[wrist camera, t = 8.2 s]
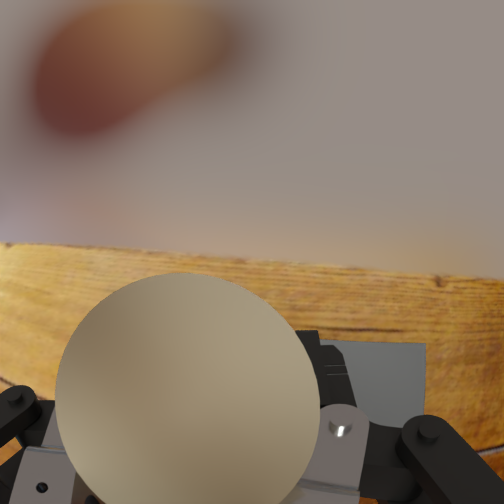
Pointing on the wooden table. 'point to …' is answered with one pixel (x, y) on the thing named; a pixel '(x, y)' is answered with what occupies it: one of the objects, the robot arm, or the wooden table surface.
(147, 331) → the beech gear spindle
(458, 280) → the wooden table surface
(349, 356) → the gear board
